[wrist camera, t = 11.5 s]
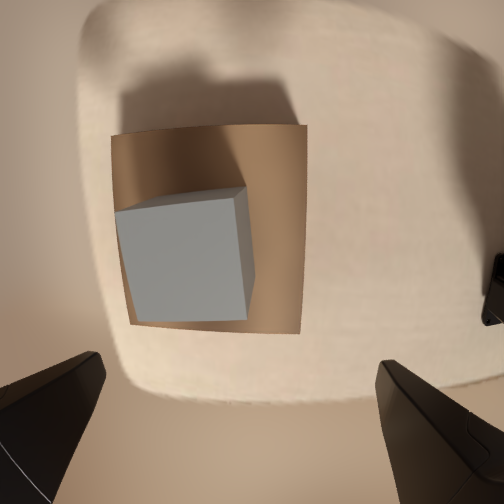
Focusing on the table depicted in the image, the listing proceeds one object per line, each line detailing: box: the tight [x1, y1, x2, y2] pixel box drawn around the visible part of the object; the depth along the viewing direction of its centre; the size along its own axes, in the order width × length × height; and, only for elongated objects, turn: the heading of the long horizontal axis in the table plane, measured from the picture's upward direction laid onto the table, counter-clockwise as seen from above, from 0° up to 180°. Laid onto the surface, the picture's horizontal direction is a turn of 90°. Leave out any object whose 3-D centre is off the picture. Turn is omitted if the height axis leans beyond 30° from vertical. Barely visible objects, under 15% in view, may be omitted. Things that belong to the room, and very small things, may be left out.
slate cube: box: [114, 186, 255, 322], centre depth 15 cm, size 5×5×5 cm
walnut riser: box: [111, 124, 307, 334], centre depth 19 cm, size 11×12×4 cm
